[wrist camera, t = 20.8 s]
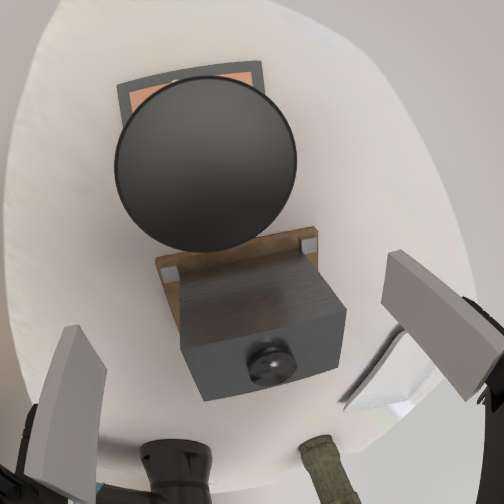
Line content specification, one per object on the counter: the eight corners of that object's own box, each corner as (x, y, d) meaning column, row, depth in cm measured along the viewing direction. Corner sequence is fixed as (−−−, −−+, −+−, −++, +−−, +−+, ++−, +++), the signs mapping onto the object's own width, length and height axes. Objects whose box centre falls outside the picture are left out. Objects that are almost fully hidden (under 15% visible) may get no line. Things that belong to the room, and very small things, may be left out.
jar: (202, 210, 25) (215, 289, 14) (127, 156, 21) (76, 198, 11) (269, 133, 23) (338, 154, 12) (196, 72, 19) (205, 31, 9)
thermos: (334, 428, 55) (388, 545, 25) (328, 445, 61) (373, 546, 30) (298, 439, 54) (347, 563, 24) (297, 455, 59) (337, 560, 29)
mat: (146, 225, 25) (145, 227, 24) (118, 85, 18) (116, 84, 18) (273, 200, 26) (276, 202, 26) (259, 61, 20) (261, 60, 20)
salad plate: (395, 319, 40) (407, 333, 37) (453, 322, 47) (463, 331, 44) (334, 401, 48) (341, 414, 45) (401, 390, 55) (407, 400, 52)
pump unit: (181, 332, 31) (187, 422, 21) (156, 258, 27) (144, 349, 16) (313, 302, 34) (359, 377, 23) (314, 226, 29) (379, 294, 18)
